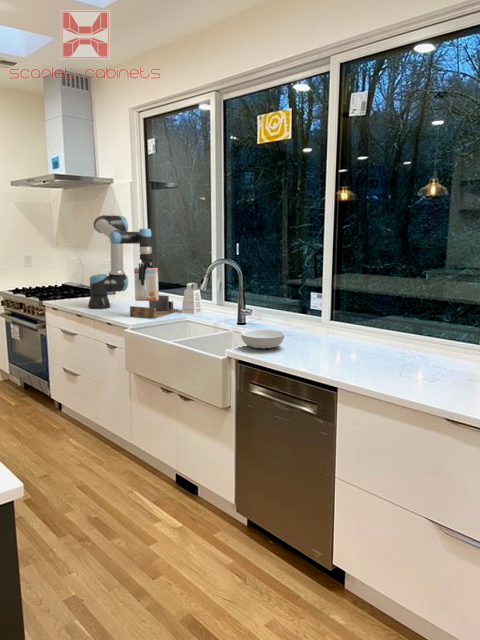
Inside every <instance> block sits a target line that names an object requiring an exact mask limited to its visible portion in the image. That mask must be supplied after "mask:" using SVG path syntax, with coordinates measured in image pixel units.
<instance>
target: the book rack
mask: <svg viewBox="0 0 480 640" xmlns="http://www.w3.org/2000/svg"><path fill="white" fill-rule="evenodd" d="M177 312H179V309H178V308H173V309H172V310H169V311H161V310H156V308H149V307H143V306H135V305H134V306H129V317H130V318H139V317H140V318H143V319H151V318H154V319H153V320H156V319H158V317H159V318H161V317H165V316H168V315H171V314H174V313H177ZM140 318H139V319H140ZM155 318H156V319H155Z"/></svg>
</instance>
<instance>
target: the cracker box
mask: <svg viewBox="0 0 480 640" xmlns="http://www.w3.org/2000/svg"><path fill="white" fill-rule="evenodd" d="M133 270H134V294H135V295H134V296H135V297H134V299H135V302H149V301H157V300H159V295H160V293H159V268H158V267H153V268H147V269H146V274H145V284H146V290H141V280H139V267H135V268H133Z"/></svg>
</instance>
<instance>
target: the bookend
mask: <svg viewBox="0 0 480 640" xmlns="http://www.w3.org/2000/svg"><path fill="white" fill-rule="evenodd" d="M148 306H149V307H148V308H156V310H161V311H169V310H172V309H174V301H173V300H171V301H170V298H169V295H162V294H159V300H157V301H148Z"/></svg>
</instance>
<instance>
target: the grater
mask: <svg viewBox="0 0 480 640" xmlns="http://www.w3.org/2000/svg"><path fill="white" fill-rule="evenodd" d="M203 310H204V309H203V302H202V297H201V290H200V289H199V288H198V283H197V282H189V283H187V284H186V289H184V292H183V298H182V307H181V314H188V315H197V314H201V313H203V312H204V311H203Z"/></svg>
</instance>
